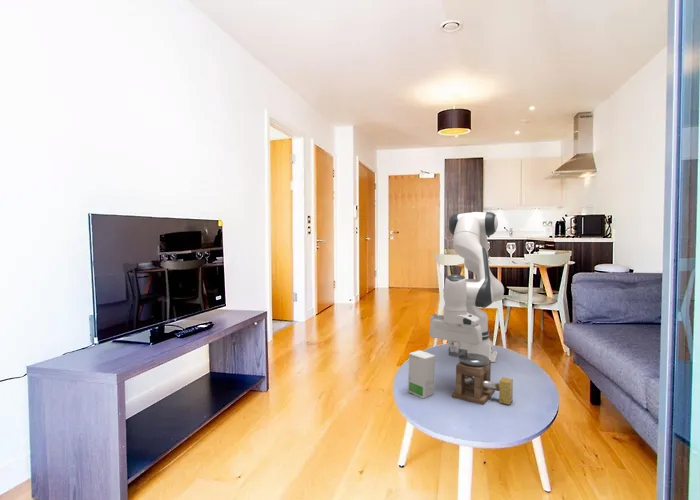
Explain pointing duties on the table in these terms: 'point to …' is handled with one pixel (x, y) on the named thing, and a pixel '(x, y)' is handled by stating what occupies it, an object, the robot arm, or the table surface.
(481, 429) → the table surface
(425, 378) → the skincare box
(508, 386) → the gold cube on rod
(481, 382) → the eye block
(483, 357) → the handwheel
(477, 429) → the table surface
